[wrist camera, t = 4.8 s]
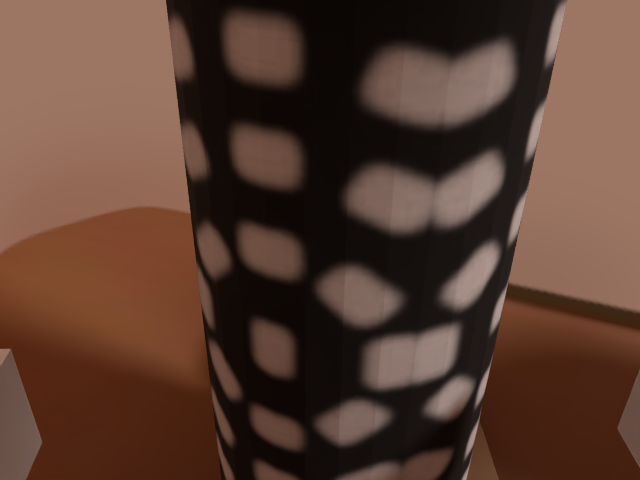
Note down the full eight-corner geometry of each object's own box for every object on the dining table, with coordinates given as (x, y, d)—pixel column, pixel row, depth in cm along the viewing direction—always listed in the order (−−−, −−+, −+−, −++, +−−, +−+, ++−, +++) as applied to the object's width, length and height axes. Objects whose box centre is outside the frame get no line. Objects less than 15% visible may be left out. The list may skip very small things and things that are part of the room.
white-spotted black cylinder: (298, 413, 28) (292, -78, 17) (477, 488, 25) (601, -62, 14) (182, 571, 22) (63, -50, 11) (402, 700, 18) (526, -9, 8)
